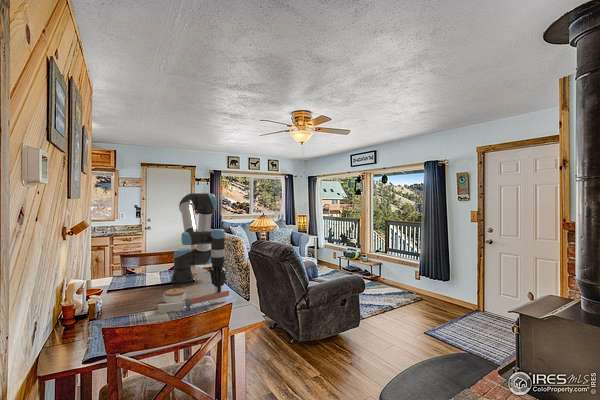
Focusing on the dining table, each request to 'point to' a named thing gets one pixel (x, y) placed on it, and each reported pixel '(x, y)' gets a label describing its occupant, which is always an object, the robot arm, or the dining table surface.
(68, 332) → the dining table surface
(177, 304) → the socket channel
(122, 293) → the dining table surface
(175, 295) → the lidded jar
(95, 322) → the dining table surface
